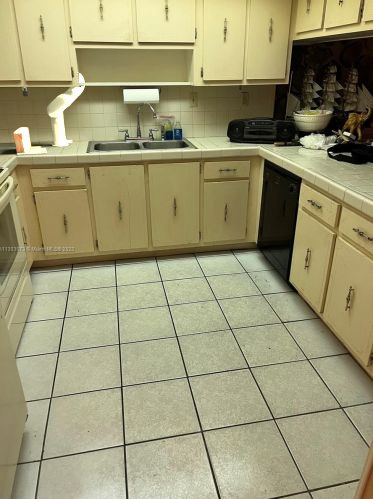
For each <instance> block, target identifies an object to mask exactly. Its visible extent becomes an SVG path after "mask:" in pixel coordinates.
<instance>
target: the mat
mask: <svg viewBox="0 0 373 499" xmlns="http://www.w3.org/2000/svg"><path fill="white" fill-rule="evenodd" d="M32 155H48V151H47V149H46V147H42V146H31V147H30V148H29V149H28V150H27V151H26V152H25V153H17V152H16V156H32Z"/></svg>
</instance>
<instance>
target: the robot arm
mask: <svg viewBox="0 0 373 499" xmlns="http://www.w3.org/2000/svg"><path fill="white" fill-rule="evenodd" d="M78 73H79V72H78ZM79 83H85V79H84V77H83V75H82V73H79ZM21 88H22V96H23V97H29V94H28V90H27V86H26V87H22V86H21ZM84 89H85V85H84V86H81V87H71V86H70V87H69V88H68V89H67V90H65V91H64V93H61V94H59V95H58V96H56V98H54V99H53V100H52V101H51V102H50V103H49V104H48V105H47V106H46V114H47V115H48V116H49V117H50V124H51V130H52V131H51V132H52V139H53V143H52V144H51V146H52V147H68V146H69V144H71V143H73V140H72V139H69V140H67V138H66V129H65V122H64V121H65V119H64V110H65V109H66V108H69V107H70V106H71V105H72V103H74V102H75V101H76V99H78V97H79V96H81V94H82V93H83V92H84Z"/></svg>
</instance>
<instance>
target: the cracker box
mask: <svg viewBox="0 0 373 499" xmlns="http://www.w3.org/2000/svg"><path fill="white" fill-rule="evenodd" d="M12 134H13V138H14V144H15V149H16V154H17V153H25V152H26V151H27V150H28V149H29V148H30V147H32V144H31V138H30V132H29V127H19V128H18V129H16V130H15V131H14V132H13V133H12Z"/></svg>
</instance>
